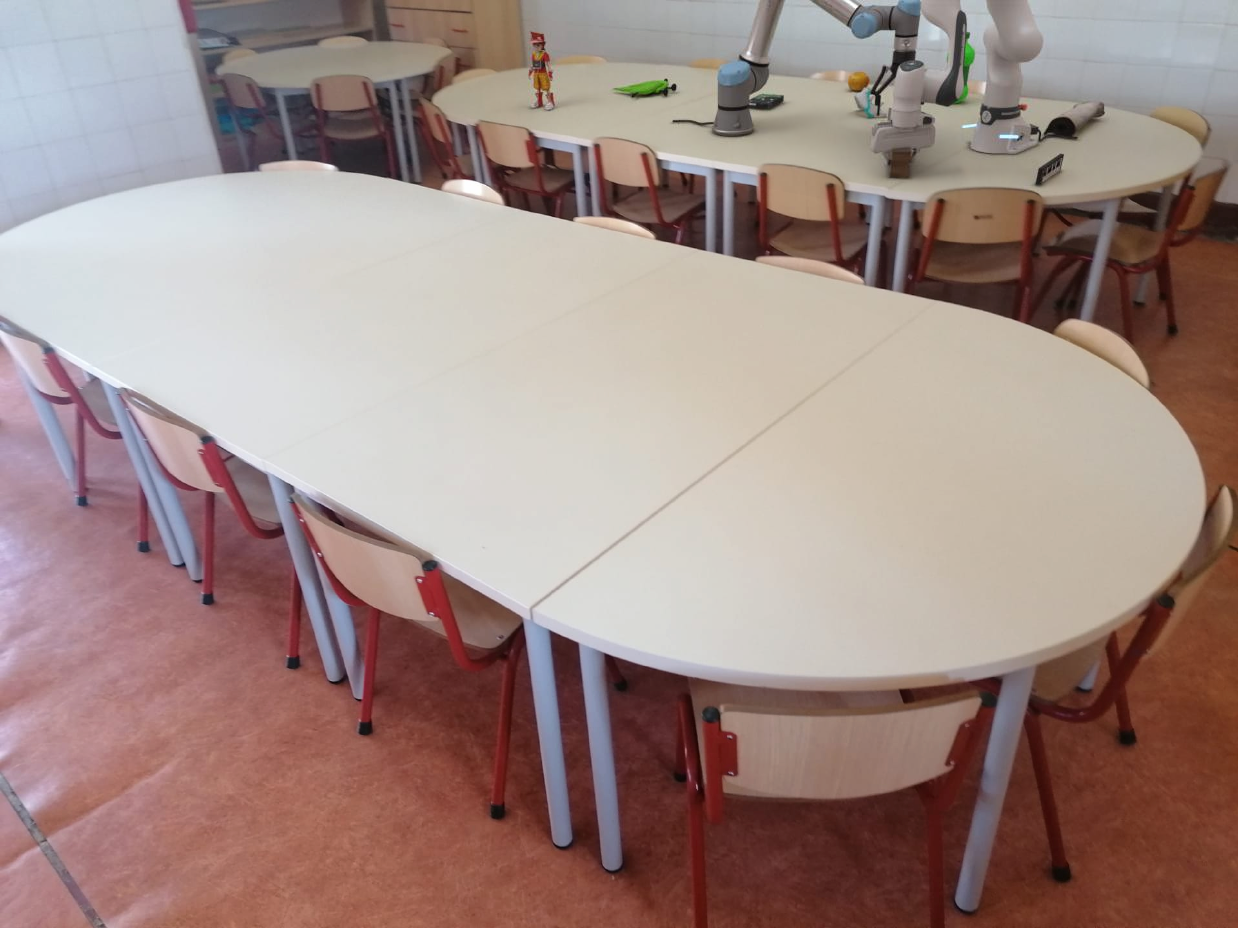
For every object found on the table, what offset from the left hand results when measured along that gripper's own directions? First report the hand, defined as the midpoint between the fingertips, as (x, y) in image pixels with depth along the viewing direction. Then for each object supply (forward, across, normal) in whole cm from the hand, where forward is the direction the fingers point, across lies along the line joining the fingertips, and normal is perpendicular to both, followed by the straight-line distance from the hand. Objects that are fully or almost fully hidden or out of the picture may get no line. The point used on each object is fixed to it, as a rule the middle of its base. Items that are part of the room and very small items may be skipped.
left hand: (897, 115), depth 317 cm
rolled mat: (+8, +61, +12) cm, 63 cm away
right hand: (+5, 0, -43) cm, 43 cm away
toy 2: (+5, -107, +68) cm, 127 cm away
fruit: (+7, -14, +70) cm, 72 cm away
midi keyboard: (+8, +44, -46) cm, 64 cm away
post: (+7, 0, -21) cm, 23 cm away
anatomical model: (+7, -9, +31) cm, 33 cm away
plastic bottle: (+7, +24, +49) cm, 55 cm away
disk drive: (+6, -50, +44) cm, 67 cm away
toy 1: (+5, -144, +41) cm, 150 cm away
